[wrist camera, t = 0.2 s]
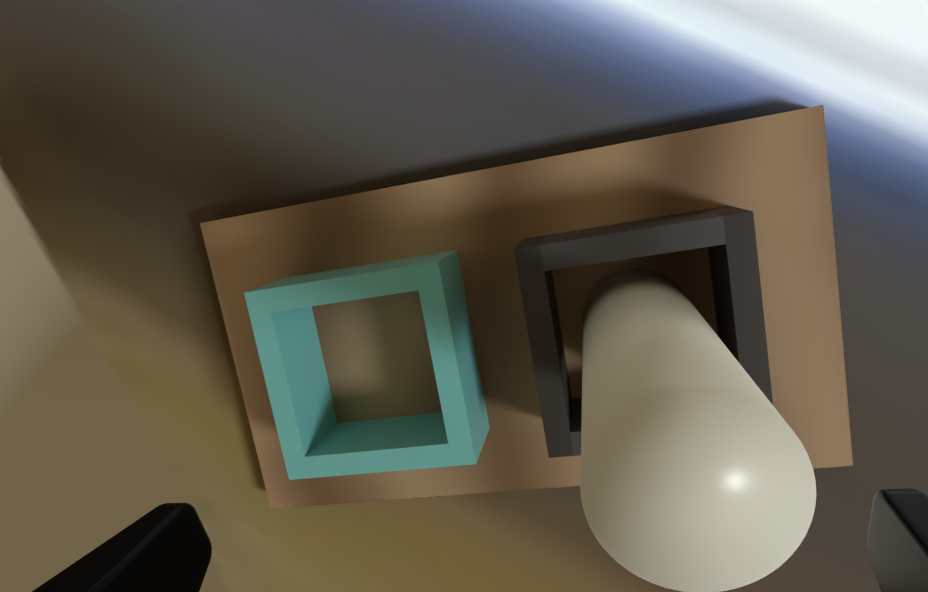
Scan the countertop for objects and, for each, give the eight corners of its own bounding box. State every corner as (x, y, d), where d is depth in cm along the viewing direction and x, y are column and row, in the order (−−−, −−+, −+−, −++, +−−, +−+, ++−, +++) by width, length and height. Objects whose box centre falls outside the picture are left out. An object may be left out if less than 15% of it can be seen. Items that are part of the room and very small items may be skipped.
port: (457, 249, 22) (437, 261, 19) (489, 427, 23) (476, 464, 20) (285, 277, 24) (243, 292, 21) (323, 443, 25) (289, 480, 22)
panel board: (811, 107, 20) (865, 93, 16) (841, 452, 22) (895, 512, 18) (214, 221, 25) (147, 230, 21) (281, 496, 27) (231, 550, 23)
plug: (648, 389, 22) (717, 632, 10) (563, 331, 22) (538, 507, 11) (713, 307, 21) (868, 475, 9) (623, 248, 21) (668, 341, 10)
